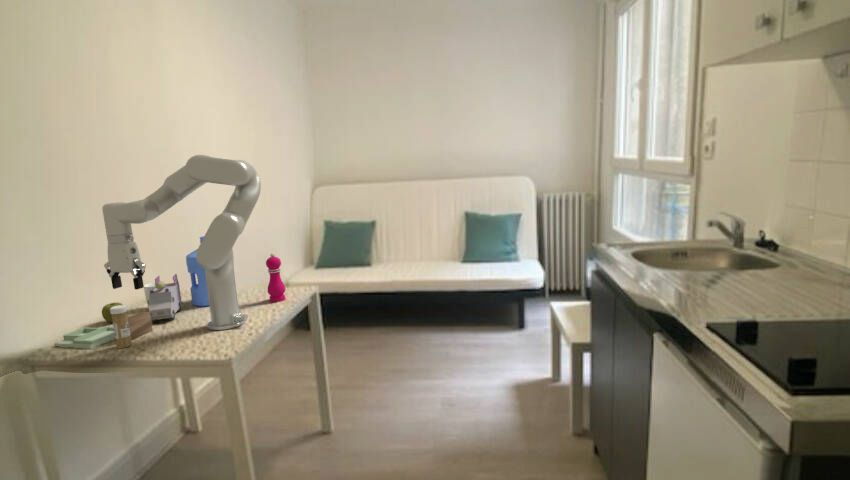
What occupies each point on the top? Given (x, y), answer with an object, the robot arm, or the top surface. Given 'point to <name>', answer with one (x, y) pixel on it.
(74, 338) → the jig
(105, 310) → the apple
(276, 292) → the pepper mill
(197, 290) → the water jug
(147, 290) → the white cup
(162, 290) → the toy vehicle
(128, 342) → the sprinkles bottle
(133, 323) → the brown cuboid brick
